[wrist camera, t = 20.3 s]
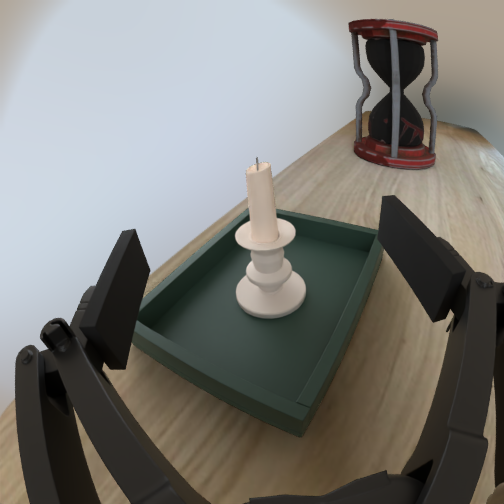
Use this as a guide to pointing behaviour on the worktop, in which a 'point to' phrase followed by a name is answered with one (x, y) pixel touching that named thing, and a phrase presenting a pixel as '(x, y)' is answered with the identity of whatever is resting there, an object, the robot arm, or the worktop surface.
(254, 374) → the tray
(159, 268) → the worktop surface
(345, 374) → the worktop surface
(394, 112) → the hourglass
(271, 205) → the candle
